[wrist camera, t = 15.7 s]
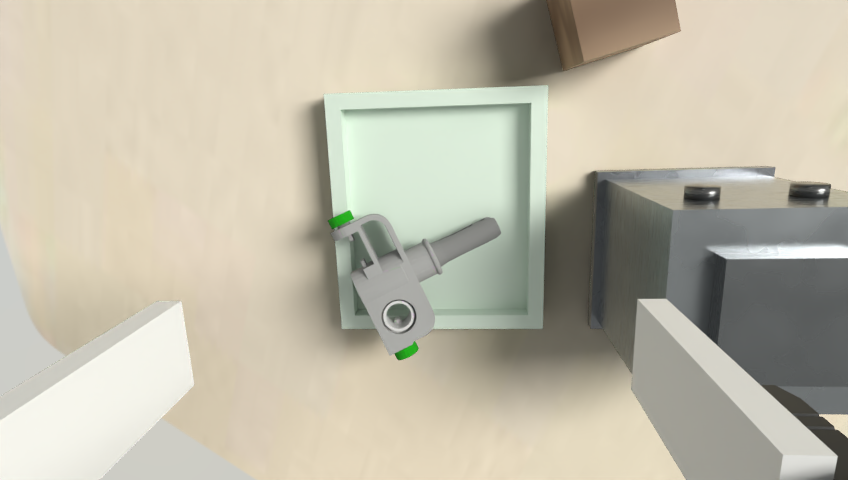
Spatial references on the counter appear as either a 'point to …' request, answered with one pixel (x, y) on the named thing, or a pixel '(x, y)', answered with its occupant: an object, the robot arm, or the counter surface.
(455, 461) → the counter surface
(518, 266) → the tray
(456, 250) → the mechanical component
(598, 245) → the unit
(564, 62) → the walnut block
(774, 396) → the robot arm
